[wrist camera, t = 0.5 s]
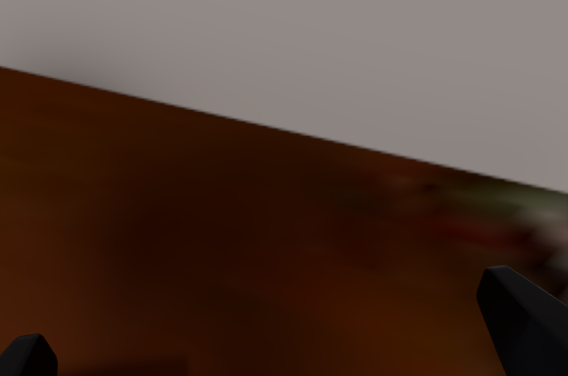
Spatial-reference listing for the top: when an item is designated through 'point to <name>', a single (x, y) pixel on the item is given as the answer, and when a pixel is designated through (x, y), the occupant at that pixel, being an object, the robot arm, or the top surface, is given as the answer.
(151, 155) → the top surface
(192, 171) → the top surface
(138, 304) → the top surface
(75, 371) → the top surface
